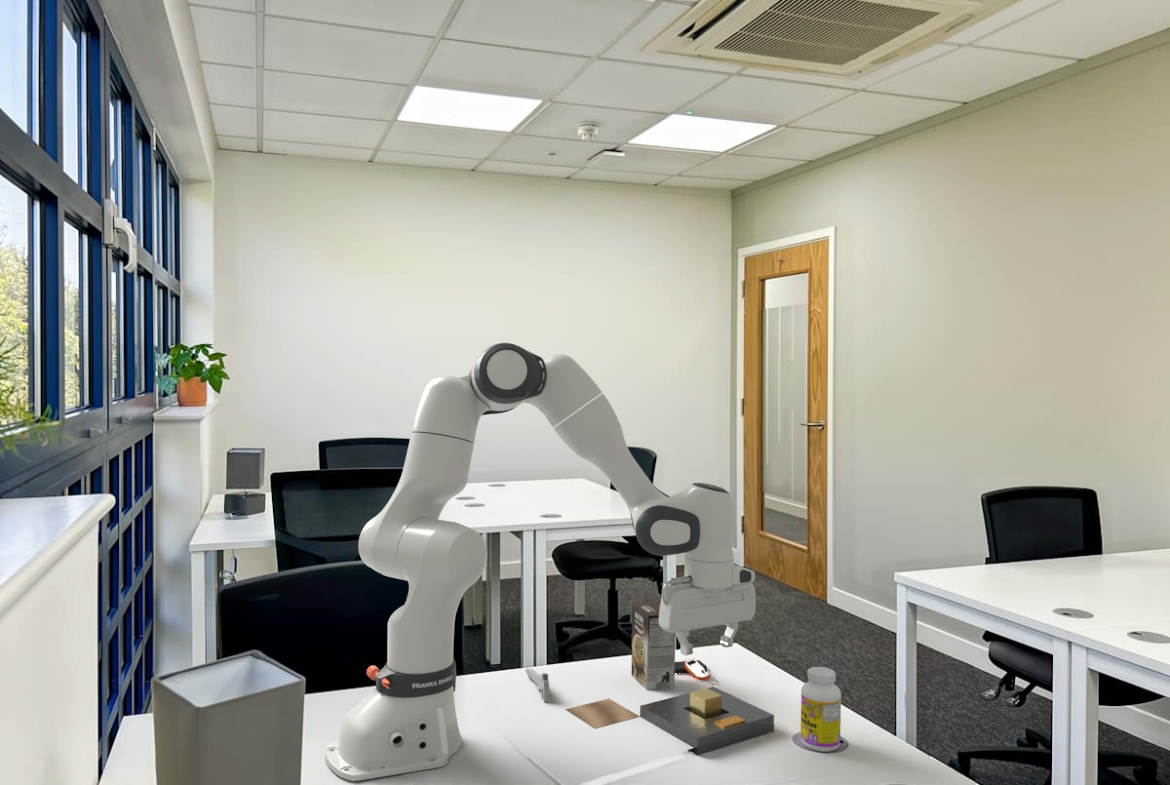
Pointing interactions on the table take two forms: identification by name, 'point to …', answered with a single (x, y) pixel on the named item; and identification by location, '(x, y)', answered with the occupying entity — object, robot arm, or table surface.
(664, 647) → the coffee box
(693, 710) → the brass peg
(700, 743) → the hole plate
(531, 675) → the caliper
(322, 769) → the table surface
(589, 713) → the copper pad
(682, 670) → the multimeter
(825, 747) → the supplement bottle
